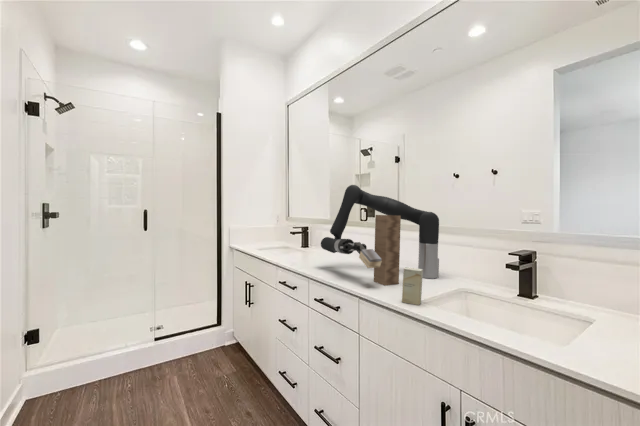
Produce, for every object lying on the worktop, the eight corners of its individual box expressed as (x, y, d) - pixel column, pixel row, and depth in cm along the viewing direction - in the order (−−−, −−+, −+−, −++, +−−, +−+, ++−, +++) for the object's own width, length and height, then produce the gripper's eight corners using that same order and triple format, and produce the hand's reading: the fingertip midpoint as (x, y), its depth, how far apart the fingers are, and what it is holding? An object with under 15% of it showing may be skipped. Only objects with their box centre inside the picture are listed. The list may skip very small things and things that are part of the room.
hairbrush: (361, 246, 138) (363, 239, 136) (379, 267, 125) (382, 259, 123) (350, 247, 136) (352, 239, 134) (367, 268, 122) (370, 259, 120)
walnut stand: (387, 280, 139) (389, 215, 138) (398, 284, 131) (400, 215, 131) (373, 281, 135) (375, 214, 135) (384, 285, 128) (386, 215, 128)
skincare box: (401, 302, 104) (402, 268, 104) (404, 299, 108) (405, 266, 108) (420, 305, 101) (421, 270, 101) (422, 302, 105) (423, 268, 105)
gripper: (331, 239, 145) (348, 239, 129) (355, 238, 151) (375, 239, 135) (332, 254, 144) (349, 256, 129) (356, 253, 150) (375, 255, 134)
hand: (362, 247), depth 132 cm, fingers closed on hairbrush, 2 cm apart
